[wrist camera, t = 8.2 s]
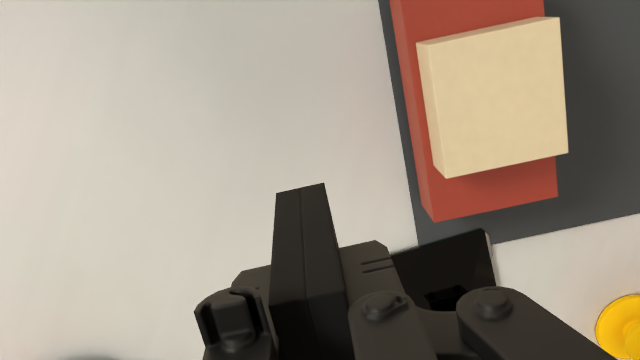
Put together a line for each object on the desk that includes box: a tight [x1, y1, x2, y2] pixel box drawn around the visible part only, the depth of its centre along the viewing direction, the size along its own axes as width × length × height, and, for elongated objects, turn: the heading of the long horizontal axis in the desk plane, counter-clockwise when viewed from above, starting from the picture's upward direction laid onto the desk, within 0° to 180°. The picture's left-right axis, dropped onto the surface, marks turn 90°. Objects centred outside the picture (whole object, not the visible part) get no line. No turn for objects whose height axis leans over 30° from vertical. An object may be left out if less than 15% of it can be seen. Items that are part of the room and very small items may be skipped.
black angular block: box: [390, 228, 496, 312], centre depth 37 cm, size 12×7×5 cm, turn 16°
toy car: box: [389, 0, 569, 223], centre depth 31 cm, size 13×7×8 cm
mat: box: [378, 0, 640, 245], centre depth 35 cm, size 20×16×1 cm
